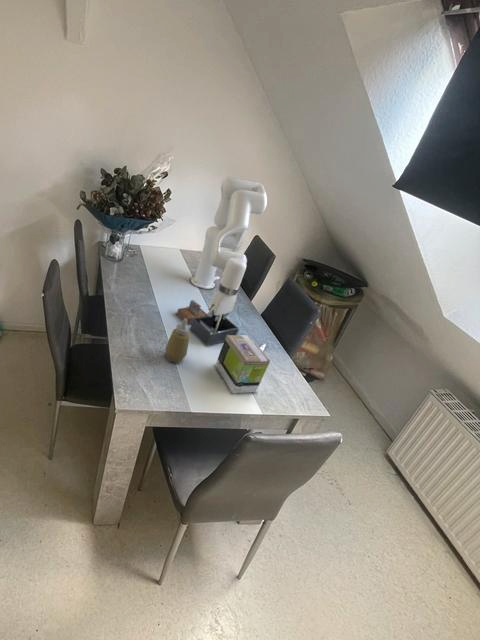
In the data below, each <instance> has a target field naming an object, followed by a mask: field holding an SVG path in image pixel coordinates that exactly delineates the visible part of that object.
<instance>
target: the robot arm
mask: <svg viewBox="0 0 480 640" xmlns="http://www.w3.org/2000/svg"><path fill="white" fill-rule="evenodd" d="M220 194H221V195H220V197H221V198H220V201H219V203H218V207H217V209H216V212H215V215H214V219H213V222H214V225H212V226H209V227H208V228H207V229H206V231H205V236H204V242H203V243H204V244H203V248H202V251H201V254H200V255H201V256H200V258H199V262H198V266H197V268H196V272H195V275H194V276H192V277H191V279H190V282H191V283H192V285H194V286H195V287H197V288H200V289H204V290H212V289H214V287H215V285H216V283H215V282H216V281H219V280H220V282H219V285H218V288H217V289H216V290H215V291H214V293H213V295H212V297H211V299H210V302H209V304H208V307H207V310H208V312H207V313H206V314H207V315H208V316H210V317H211V318H212V319H211V321H210V326H211V327H212V328H213V329H215V328H216V325H217V322H218V321H217V319H218V317H219V315H221V314H222V317H221V320H220V323H219V326H218V327H219V328H220V327H221V326H222V323H223V319H225V318H227V316H228V315H229V314H230V313H232V312H233V310H234V308H235V305H236V302H237V297H238V292H239V289H240V286H241V283H242V281H243V278H244V275H245V272H246V270H247V263H248V258H247V256H246V255H245V254H244V253H243V252H238V251H233V250H236V249H238V248H239V247H240V245H241V243H242V240H243V238H244V236H245V234H246V231H248V229H249V223H250V217H251V214H255V215H262V214H263V213H264V212H265V211H266V209H267V206H268V196H267V191H266V190H265V187H264V185H263V184H262V183H260V182H257V181H252V180H247V179H243V178H237V177H228V176H227V177H225V178H223V180H222V182H221V185H220ZM222 248H224V249H222ZM228 249H229V250H228ZM218 269H223V271H222V272H223V273H222V276H221V277H220V276H218V275H216V273H217V270H218ZM215 315H216V316H215Z"/></svg>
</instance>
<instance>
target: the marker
mask: <svg viewBox="0 0 480 640" xmlns="http://www.w3.org/2000/svg"><path fill="white" fill-rule="evenodd" d="M221 317H222V314H221V315H219V317H218V319H217V321H218V322H217V325H216V328H215V329H213V328H211V332H212V333H214V332H216V331H217V328H218V326H219V323H220V320H221Z"/></svg>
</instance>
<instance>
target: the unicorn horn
mask: <svg viewBox="0 0 480 640" xmlns="http://www.w3.org/2000/svg"><path fill="white" fill-rule="evenodd" d="M258 347H259V348H260V349H261V350H262V351H263V352H264V351H265V348H266V347H267V343H263V344H262V345H261V346H258Z"/></svg>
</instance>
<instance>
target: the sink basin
mask: <svg viewBox="0 0 480 640" xmlns="http://www.w3.org/2000/svg"><path fill="white" fill-rule="evenodd" d="M215 316H216V315H215ZM211 319H212V318H211V317H210V316H204V317H199V318H194V319H193V321H192V323H191V325H190V328H189V331H190V332H192V333H193V334H194V335H195V336H196V337H197V338H198V339H199V340H200V341H201V342H202V343H203V344H204V345H205V346H206V347H207V346H212V345H216V344H219V343H224V341H225V338H226V336H227V335H238V331H239V327H238V326H237V325H236V324H235V323H233V322H232V321H231V320H229V319H228V318H227V317H226V318H225V319H223V323H222V326H221V327H220V328H219V327H218V328H217V331H216V332H214V333H212V332H211V328H212V327H211V326H210V321H211Z"/></svg>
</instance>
